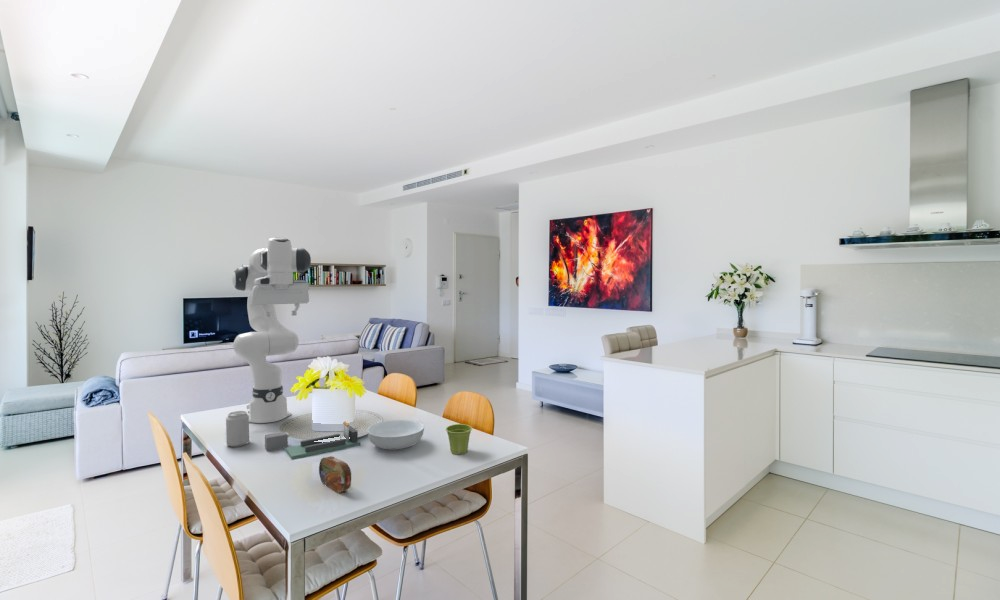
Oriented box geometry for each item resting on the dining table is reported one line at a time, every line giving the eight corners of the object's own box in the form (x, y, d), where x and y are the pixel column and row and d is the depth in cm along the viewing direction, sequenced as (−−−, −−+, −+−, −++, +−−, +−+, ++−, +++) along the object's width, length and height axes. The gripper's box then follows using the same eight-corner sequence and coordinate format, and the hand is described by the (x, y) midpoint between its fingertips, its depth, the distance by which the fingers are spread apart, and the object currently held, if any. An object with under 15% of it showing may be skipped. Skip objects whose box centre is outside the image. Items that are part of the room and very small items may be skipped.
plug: (264, 448, 170) (264, 434, 170) (286, 444, 174) (286, 431, 174) (266, 451, 167) (266, 438, 166) (289, 447, 171) (288, 434, 171)
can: (239, 448, 169) (238, 416, 168) (221, 446, 170) (220, 414, 170) (254, 441, 176) (253, 410, 176) (237, 440, 178) (236, 409, 177)
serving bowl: (435, 443, 176) (435, 425, 176) (394, 460, 159) (394, 441, 159) (397, 432, 188) (397, 415, 188) (355, 447, 171) (355, 429, 170)
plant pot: (463, 458, 161) (464, 433, 161) (440, 453, 165) (440, 430, 165) (476, 449, 170) (476, 426, 169) (454, 445, 174) (454, 422, 173)
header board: (285, 450, 167) (284, 429, 167) (351, 437, 181) (351, 417, 181) (291, 459, 159) (291, 436, 159) (359, 444, 173) (359, 424, 173)
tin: (318, 481, 142) (317, 454, 142) (327, 478, 145) (327, 451, 144) (343, 497, 132) (343, 468, 132) (353, 493, 135) (353, 464, 134)
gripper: (306, 280, 186) (307, 314, 186) (249, 279, 174) (250, 316, 174) (310, 280, 181) (311, 315, 181) (252, 280, 169) (253, 317, 169)
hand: (281, 315), depth 178 cm, fingers open, 8 cm apart
